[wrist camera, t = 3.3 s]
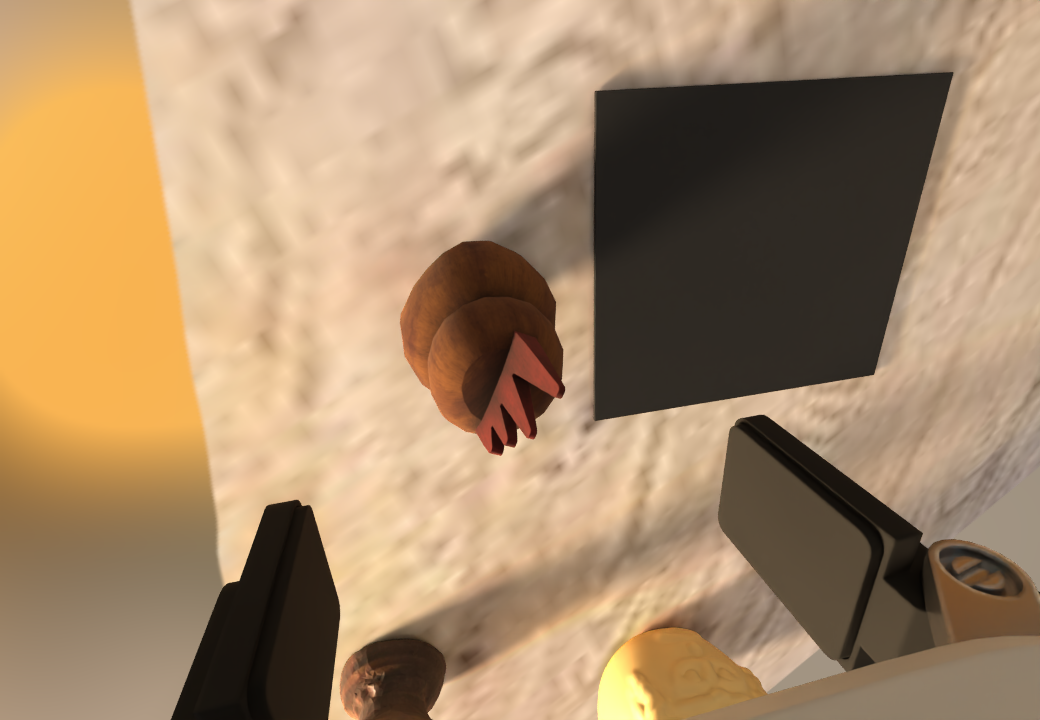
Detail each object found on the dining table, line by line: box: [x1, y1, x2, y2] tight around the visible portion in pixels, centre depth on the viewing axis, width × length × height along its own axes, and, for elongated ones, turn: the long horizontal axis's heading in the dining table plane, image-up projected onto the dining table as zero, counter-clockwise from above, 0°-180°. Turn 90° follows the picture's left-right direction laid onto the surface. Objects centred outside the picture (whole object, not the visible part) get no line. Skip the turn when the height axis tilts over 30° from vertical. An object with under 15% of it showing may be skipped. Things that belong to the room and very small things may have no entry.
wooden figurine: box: [400, 241, 565, 456], centre depth 20 cm, size 7×6×15 cm
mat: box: [594, 72, 953, 421], centre depth 29 cm, size 20×18×1 cm
